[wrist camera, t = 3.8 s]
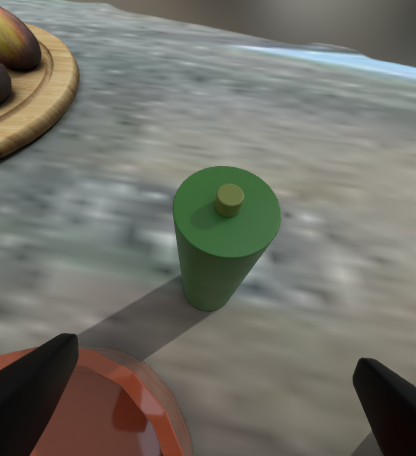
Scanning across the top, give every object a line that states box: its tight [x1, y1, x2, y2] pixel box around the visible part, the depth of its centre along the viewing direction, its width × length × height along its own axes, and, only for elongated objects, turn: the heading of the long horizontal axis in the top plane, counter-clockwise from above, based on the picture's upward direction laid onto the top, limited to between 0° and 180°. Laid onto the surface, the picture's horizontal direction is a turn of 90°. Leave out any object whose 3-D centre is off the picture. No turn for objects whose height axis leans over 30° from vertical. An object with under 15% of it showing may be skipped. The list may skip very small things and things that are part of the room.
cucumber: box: [173, 166, 281, 311], centre depth 14 cm, size 4×4×13 cm
